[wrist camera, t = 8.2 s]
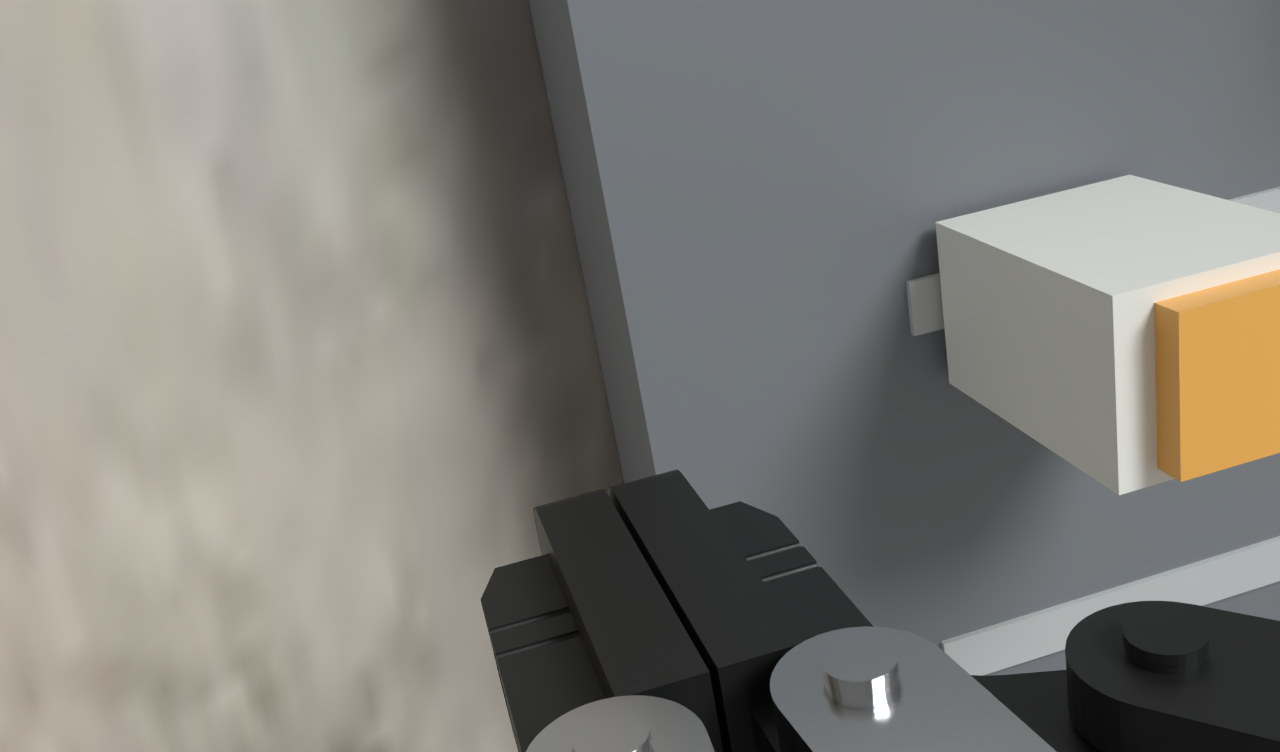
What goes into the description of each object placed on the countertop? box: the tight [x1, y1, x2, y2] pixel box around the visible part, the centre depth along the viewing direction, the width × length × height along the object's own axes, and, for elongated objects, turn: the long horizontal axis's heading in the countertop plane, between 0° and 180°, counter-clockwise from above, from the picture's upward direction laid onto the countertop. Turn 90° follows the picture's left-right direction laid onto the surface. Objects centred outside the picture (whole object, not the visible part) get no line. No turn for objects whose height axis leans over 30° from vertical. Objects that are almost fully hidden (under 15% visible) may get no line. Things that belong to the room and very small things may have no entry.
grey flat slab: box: [528, 0, 1280, 676], centre depth 19 cm, size 18×20×3 cm
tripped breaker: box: [935, 175, 1280, 495], centre depth 15 cm, size 2×3×4 cm
